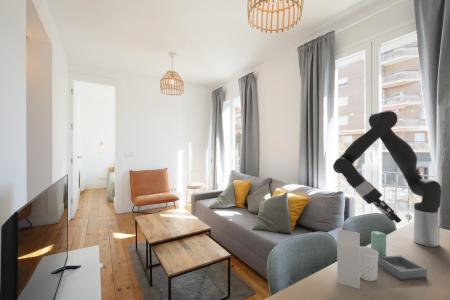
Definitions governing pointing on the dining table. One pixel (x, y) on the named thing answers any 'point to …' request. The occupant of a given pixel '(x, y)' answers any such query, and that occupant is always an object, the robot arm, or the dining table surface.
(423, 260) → the dining table surface
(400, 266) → the dish
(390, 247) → the dining table surface
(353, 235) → the milk carton
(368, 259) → the white cup
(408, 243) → the dining table surface
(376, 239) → the mint green cylinder
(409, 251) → the dining table surface
